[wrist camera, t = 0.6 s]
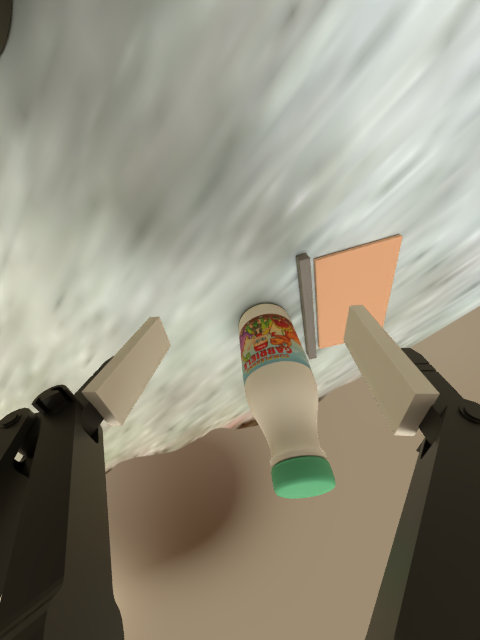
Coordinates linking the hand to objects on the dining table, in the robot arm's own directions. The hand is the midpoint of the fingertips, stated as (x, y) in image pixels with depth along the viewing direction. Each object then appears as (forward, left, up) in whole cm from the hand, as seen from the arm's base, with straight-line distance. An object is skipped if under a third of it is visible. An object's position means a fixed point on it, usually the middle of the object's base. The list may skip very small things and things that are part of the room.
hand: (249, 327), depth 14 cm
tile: (+10, +14, -13) cm, 22 cm away
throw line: (+10, +7, -13) cm, 18 cm away
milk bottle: (+10, +1, -13) cm, 17 cm away
